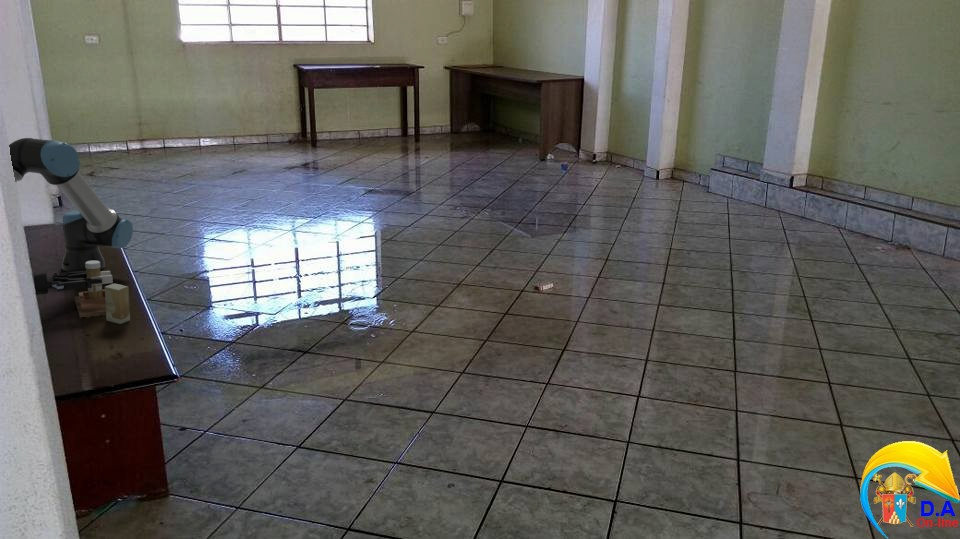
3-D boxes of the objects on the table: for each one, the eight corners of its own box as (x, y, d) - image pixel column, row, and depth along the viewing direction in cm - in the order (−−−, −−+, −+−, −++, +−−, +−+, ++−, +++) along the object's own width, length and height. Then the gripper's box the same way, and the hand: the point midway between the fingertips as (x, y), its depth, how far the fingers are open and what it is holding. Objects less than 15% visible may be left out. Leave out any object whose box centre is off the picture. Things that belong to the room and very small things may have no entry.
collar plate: (75, 300, 262) (73, 288, 261) (112, 296, 268) (111, 285, 267) (79, 318, 247) (78, 305, 246) (119, 313, 254) (118, 301, 252)
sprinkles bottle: (103, 300, 256) (101, 263, 252) (89, 301, 254) (85, 264, 250) (102, 296, 260) (99, 259, 256) (87, 297, 257) (84, 260, 253)
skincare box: (106, 320, 247) (103, 286, 243) (116, 316, 251) (113, 282, 247) (121, 324, 245) (118, 289, 241) (131, 320, 249) (128, 286, 245)
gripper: (33, 286, 253) (109, 279, 265) (35, 303, 239) (115, 294, 252) (31, 265, 251) (107, 259, 263) (33, 281, 237) (114, 273, 249)
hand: (111, 276), depth 257 cm, fingers closed on sprinkles bottle, 4 cm apart
